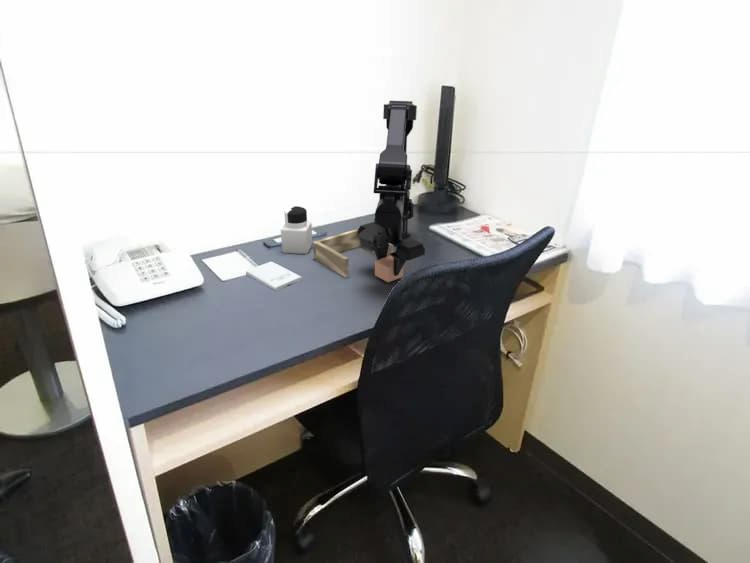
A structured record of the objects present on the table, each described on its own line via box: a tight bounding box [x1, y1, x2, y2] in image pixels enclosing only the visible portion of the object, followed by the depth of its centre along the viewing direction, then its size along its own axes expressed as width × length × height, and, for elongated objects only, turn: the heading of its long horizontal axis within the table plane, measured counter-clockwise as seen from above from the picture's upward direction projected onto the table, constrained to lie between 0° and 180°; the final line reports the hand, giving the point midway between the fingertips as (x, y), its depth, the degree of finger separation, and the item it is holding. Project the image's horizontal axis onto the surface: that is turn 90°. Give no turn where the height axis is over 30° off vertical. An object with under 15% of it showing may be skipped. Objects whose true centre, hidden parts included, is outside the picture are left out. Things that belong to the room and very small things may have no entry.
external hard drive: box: [245, 261, 303, 292], centre depth 121 cm, size 2×8×12 cm
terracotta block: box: [374, 256, 404, 283], centre depth 120 cm, size 5×5×4 cm
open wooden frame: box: [312, 228, 394, 278], centre depth 130 cm, size 16×14×5 cm
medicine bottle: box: [280, 205, 313, 255], centre depth 134 cm, size 7×7×12 cm
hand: (388, 271), depth 121 cm, fingers closed on terracotta block, 5 cm apart
